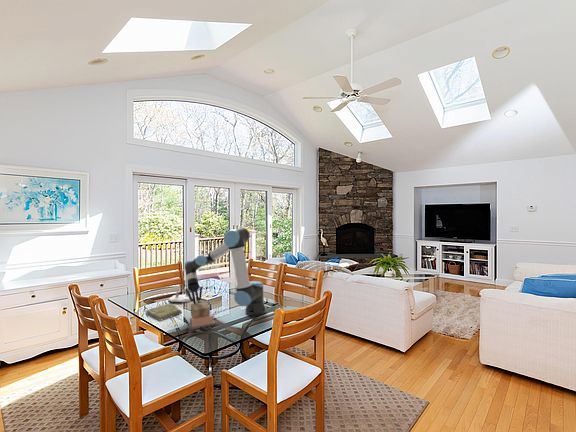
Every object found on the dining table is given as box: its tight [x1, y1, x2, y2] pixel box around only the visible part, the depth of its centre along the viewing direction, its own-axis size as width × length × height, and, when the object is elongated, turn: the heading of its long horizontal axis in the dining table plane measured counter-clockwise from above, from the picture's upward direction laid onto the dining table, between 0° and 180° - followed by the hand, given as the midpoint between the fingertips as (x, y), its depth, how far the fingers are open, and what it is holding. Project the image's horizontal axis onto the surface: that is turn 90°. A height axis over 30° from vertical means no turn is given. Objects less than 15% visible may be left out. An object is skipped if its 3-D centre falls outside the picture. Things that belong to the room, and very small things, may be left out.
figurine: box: [168, 279, 193, 303], centre depth 258 cm, size 20×18×16 cm
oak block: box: [190, 301, 211, 321], centre depth 213 cm, size 13×12×10 cm
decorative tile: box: [146, 303, 182, 321], centre depth 231 cm, size 19×20×4 cm
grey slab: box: [184, 314, 216, 330], centre depth 216 cm, size 16×22×6 cm
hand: (197, 309), depth 220 cm, fingers closed
